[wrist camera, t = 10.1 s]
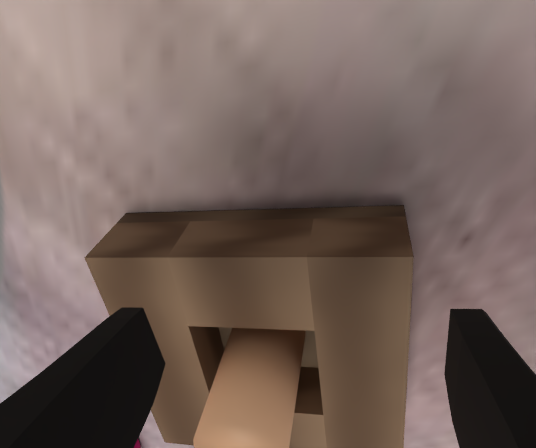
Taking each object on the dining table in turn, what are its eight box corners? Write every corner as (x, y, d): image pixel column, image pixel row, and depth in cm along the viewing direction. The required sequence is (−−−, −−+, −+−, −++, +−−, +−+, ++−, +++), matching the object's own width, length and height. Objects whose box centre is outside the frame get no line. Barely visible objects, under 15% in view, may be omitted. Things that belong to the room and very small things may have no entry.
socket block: (403, 205, 19) (413, 257, 16) (396, 402, 26) (402, 467, 23) (126, 213, 22) (84, 257, 19) (187, 387, 29) (164, 442, 26)
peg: (317, 320, 22) (301, 447, 16) (289, 363, 24) (267, 489, 19) (247, 291, 22) (207, 410, 16) (226, 338, 24) (183, 456, 18)
